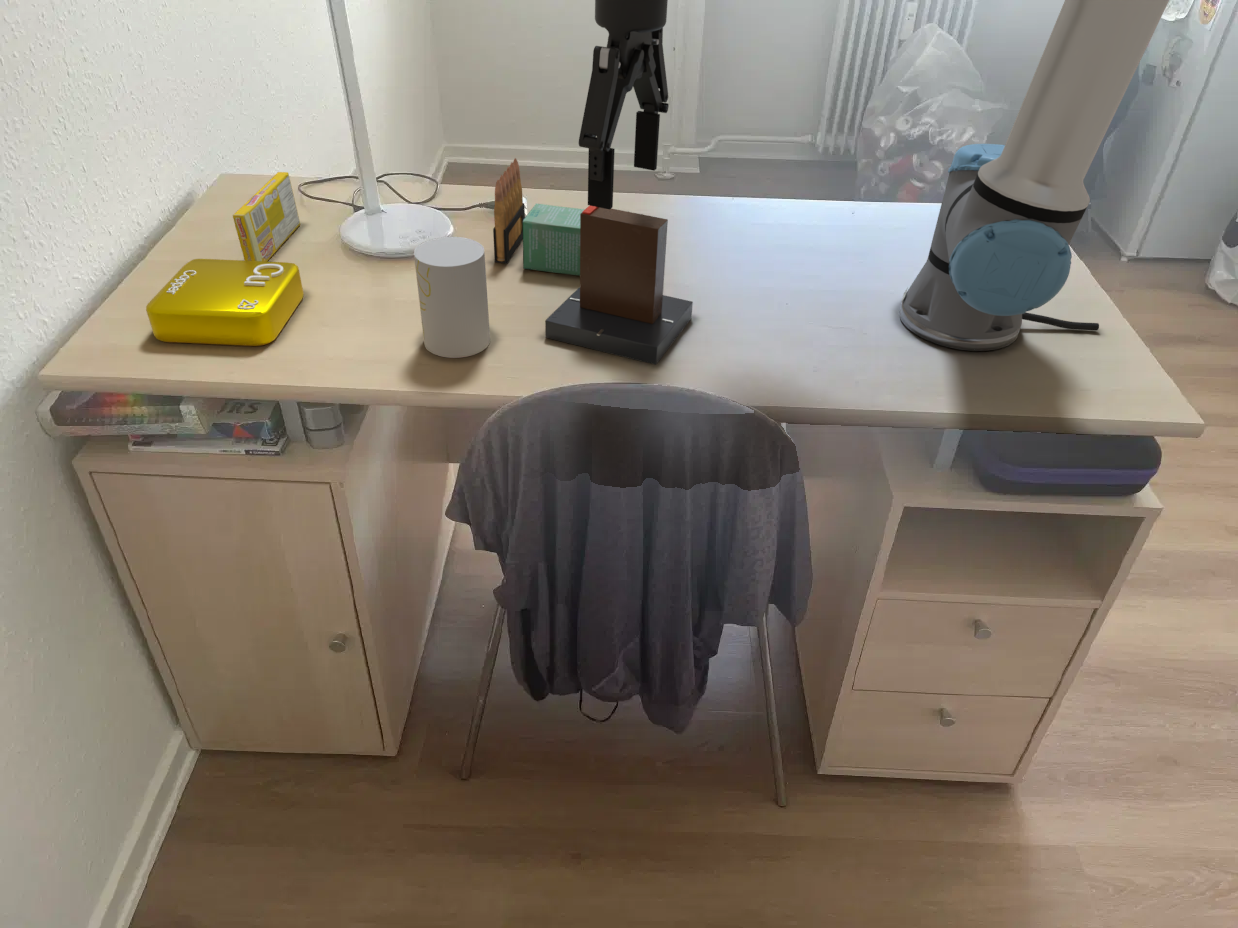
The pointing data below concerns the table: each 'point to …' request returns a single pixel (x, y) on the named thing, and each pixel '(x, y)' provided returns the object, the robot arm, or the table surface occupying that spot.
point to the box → (552, 239)
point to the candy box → (267, 219)
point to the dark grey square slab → (619, 329)
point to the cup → (453, 296)
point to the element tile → (226, 302)
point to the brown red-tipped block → (622, 263)
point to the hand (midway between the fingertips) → (623, 186)
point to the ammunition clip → (508, 214)
